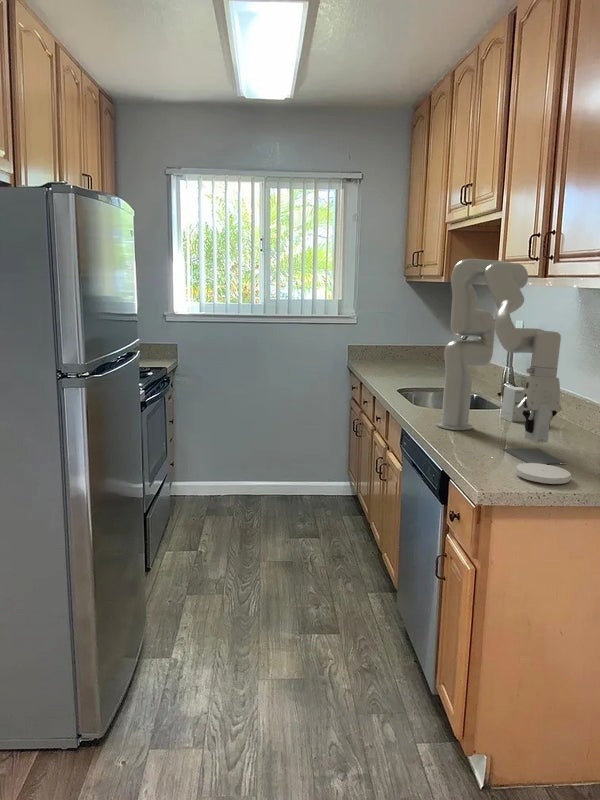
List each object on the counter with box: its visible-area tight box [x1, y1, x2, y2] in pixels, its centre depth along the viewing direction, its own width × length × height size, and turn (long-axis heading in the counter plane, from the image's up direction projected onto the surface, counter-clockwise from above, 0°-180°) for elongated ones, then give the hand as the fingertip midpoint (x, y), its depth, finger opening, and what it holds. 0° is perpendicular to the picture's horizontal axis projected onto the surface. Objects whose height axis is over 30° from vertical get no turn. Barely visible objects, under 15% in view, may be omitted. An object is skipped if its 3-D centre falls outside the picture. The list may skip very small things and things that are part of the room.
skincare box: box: [524, 404, 551, 444], centre depth 194 cm, size 6×4×12 cm
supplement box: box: [500, 386, 527, 423], centre depth 249 cm, size 7×7×13 cm
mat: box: [502, 447, 567, 465], centre depth 196 cm, size 16×12×1 cm
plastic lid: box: [515, 462, 571, 485], centre depth 175 cm, size 14×14×2 cm
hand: (536, 431), depth 195 cm, fingers closed on skincare box, 4 cm apart
